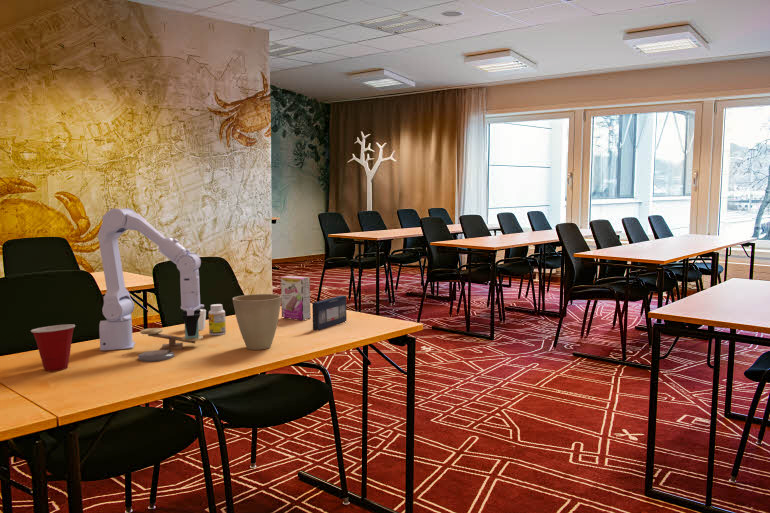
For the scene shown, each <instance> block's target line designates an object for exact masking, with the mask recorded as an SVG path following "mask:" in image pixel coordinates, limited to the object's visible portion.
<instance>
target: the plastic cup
mask: <svg viewBox="0 0 770 513" xmlns="http://www.w3.org/2000/svg"><path fill="white" fill-rule="evenodd" d="M75 327H76V325H75V324H69V323H68V324H56V325H48V326H42V327H37V328H34V329H33V328H32V329H31V330H30V332H31V333H32V334H33V337H34V339H35V341H36V345H37V349H38V352H39V356H40V359H41V364H42V367H43V369H44V370H43V371H45V372H58V371H65V369H68V367H69V363H70V361H69V360H70V356H71V348H72V339H73V335H74V334H73V333H74V329H75Z"/></svg>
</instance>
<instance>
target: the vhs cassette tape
mask: <svg viewBox="0 0 770 513" xmlns="http://www.w3.org/2000/svg"><path fill="white" fill-rule="evenodd" d="M311 307H312V308H311V310H312V330H313V331H321V330H325V329H328V328H330V327H334V326H337V324H338V325H340V323H341V324H344V323H346V322H347V318H348V317H347V296H346V295H339V296H335V297H334V296H333V297H330V298H326V299H321V300H319V301H315V302H312V306H311ZM345 321H346V322H345ZM343 322H344V323H343Z"/></svg>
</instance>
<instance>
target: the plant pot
mask: <svg viewBox="0 0 770 513" xmlns="http://www.w3.org/2000/svg"><path fill="white" fill-rule="evenodd" d="M232 304H233V308H234V313H235V318H236V322H237V324H238V325H237V326H238V329H239V332H240V334H241V337H242V340H243V342H244V344H245V347H246V349H248V350H253V351H257V350H258V351H259V350H266V349H269V348H271V347H272V344H273V341H274V338H275V334H276V331H277V327H278V322H279V317H280V312H281V294H276V293H275V294H274V293H273V294H272V293H257V294H255V293H254V294H246V295H245V294H244V295H238V296H234V297H232Z"/></svg>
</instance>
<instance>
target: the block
mask: <svg viewBox="0 0 770 513" xmlns="http://www.w3.org/2000/svg"><path fill="white" fill-rule="evenodd" d="M199 335H200V333H199V329H198V322H197V328H196V335H195V336H188V333H187V329H186V325H185V324H184V336H185V339H189V338H199Z"/></svg>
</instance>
